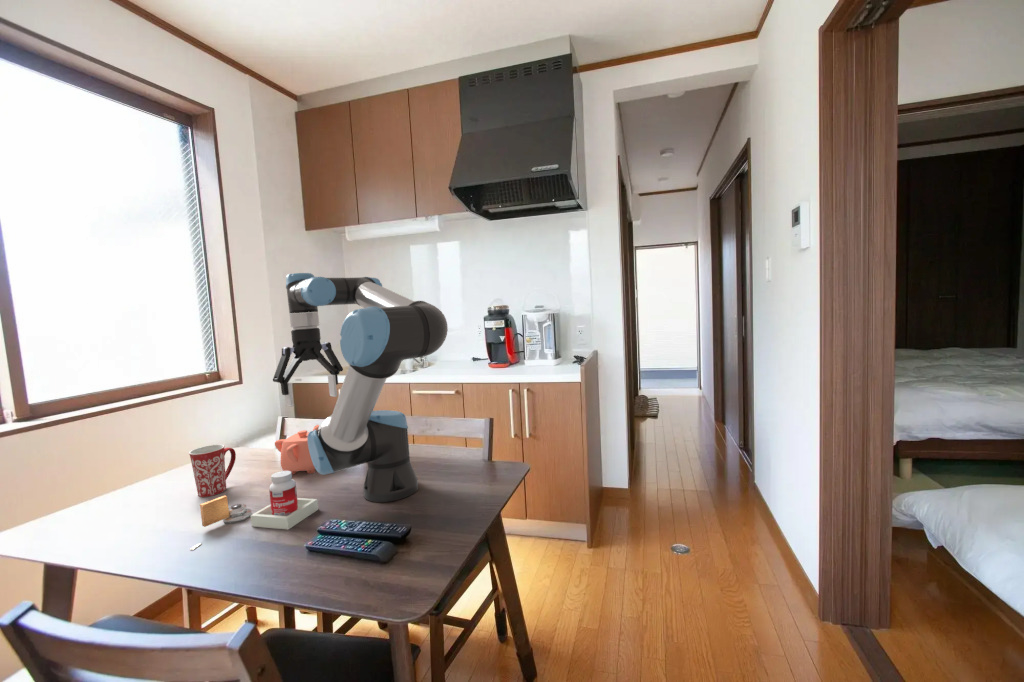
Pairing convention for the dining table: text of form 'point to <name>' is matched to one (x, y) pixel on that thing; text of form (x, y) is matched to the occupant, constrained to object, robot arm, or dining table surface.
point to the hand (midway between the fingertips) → (312, 401)
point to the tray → (284, 522)
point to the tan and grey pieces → (220, 510)
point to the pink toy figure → (296, 453)
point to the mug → (211, 468)
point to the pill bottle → (283, 494)
